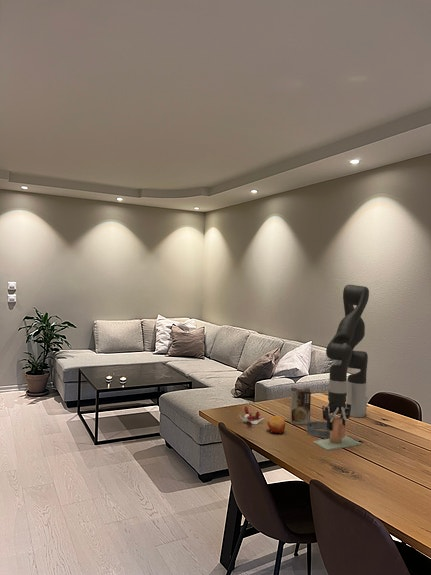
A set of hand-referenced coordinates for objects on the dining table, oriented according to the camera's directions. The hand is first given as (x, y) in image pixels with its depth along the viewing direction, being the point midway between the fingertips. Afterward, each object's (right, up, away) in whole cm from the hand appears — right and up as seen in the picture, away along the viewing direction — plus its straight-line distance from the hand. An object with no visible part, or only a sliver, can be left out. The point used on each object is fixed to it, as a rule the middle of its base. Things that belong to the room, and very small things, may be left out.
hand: (336, 429), depth 184 cm
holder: (-3, -5, +12) cm, 14 cm away
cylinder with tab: (0, -5, -1) cm, 5 cm away
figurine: (-34, -4, +22) cm, 41 cm away
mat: (0, -6, -1) cm, 6 cm away
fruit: (-24, -5, +11) cm, 27 cm away
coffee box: (-11, -5, +25) cm, 28 cm away
